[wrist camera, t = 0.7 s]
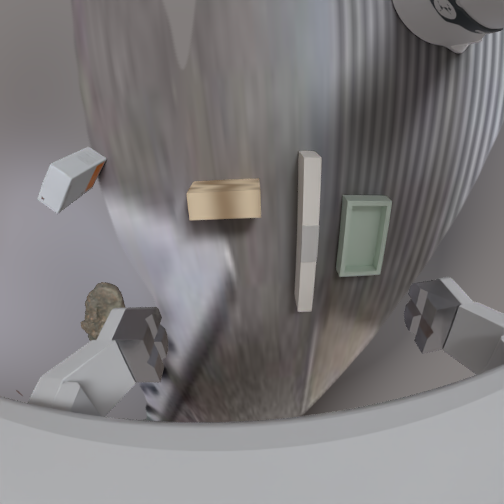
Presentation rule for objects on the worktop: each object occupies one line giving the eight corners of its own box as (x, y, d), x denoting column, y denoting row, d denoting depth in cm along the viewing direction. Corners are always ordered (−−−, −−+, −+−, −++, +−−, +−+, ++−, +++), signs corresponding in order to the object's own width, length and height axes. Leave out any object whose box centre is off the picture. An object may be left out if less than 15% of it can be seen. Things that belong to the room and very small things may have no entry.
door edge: (298, 150, 45) (304, 157, 40) (314, 150, 45) (322, 157, 40) (294, 294, 57) (297, 313, 53) (307, 294, 57) (312, 312, 53)
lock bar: (196, 205, 49) (189, 220, 44) (193, 181, 47) (186, 193, 42) (259, 202, 49) (260, 217, 44) (258, 178, 47) (260, 190, 42)
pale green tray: (342, 194, 48) (347, 200, 46) (385, 195, 48) (392, 201, 46) (335, 268, 55) (339, 276, 52) (374, 266, 55) (379, 274, 52)
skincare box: (93, 188, 47) (57, 215, 37) (74, 175, 46) (35, 200, 35) (108, 158, 45) (72, 179, 34) (88, 145, 44) (48, 163, 33)
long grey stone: (95, 374, 72) (129, 383, 74) (90, 389, 68) (126, 399, 70) (85, 273, 55) (132, 284, 57) (75, 290, 50) (125, 303, 52)
